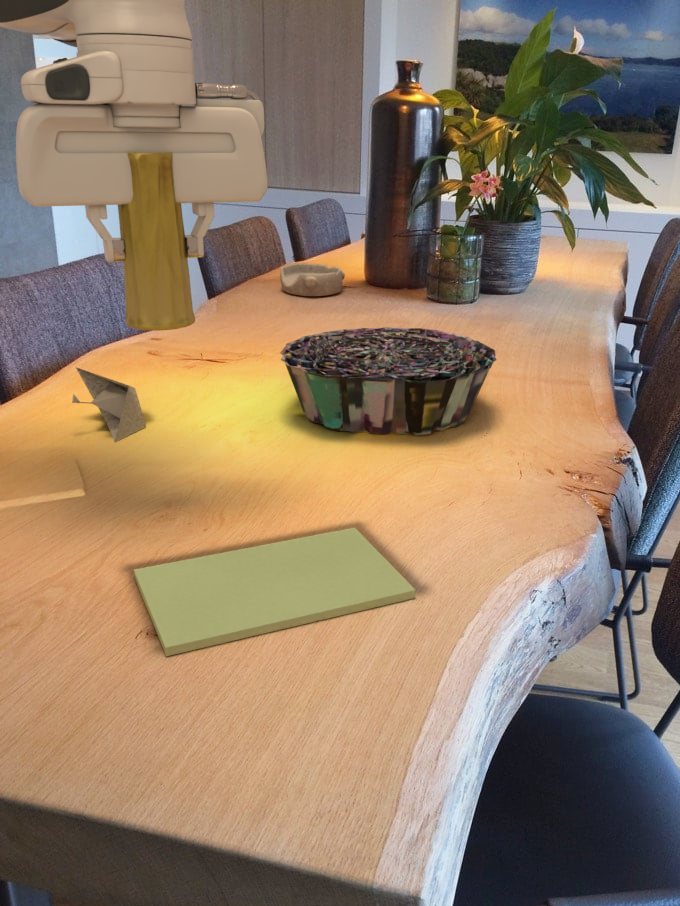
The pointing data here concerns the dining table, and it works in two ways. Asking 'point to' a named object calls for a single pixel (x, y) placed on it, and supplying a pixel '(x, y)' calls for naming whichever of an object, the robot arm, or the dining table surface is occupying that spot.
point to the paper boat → (114, 404)
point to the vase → (155, 248)
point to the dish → (311, 279)
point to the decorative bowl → (387, 378)
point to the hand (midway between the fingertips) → (154, 258)
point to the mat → (266, 589)
